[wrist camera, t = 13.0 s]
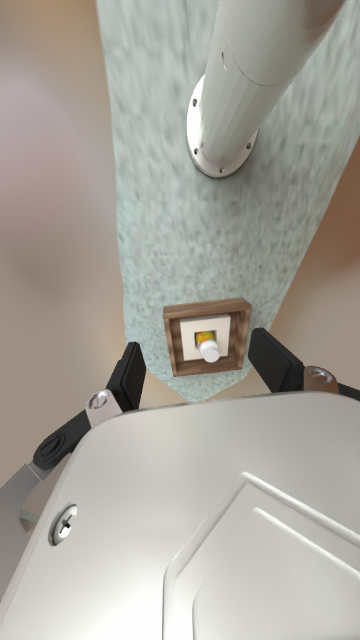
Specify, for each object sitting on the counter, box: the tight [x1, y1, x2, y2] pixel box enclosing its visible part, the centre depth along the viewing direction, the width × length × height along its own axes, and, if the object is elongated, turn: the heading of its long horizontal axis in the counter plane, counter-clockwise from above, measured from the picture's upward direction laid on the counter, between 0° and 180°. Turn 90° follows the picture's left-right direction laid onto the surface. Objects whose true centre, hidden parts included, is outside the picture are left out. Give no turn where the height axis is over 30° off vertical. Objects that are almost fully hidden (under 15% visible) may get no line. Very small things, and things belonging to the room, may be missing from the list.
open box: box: [163, 298, 252, 377], centre depth 43 cm, size 22×22×6 cm
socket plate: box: [180, 313, 230, 360], centre depth 43 cm, size 14×14×2 cm
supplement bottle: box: [196, 331, 219, 362], centre depth 40 cm, size 5×5×10 cm
